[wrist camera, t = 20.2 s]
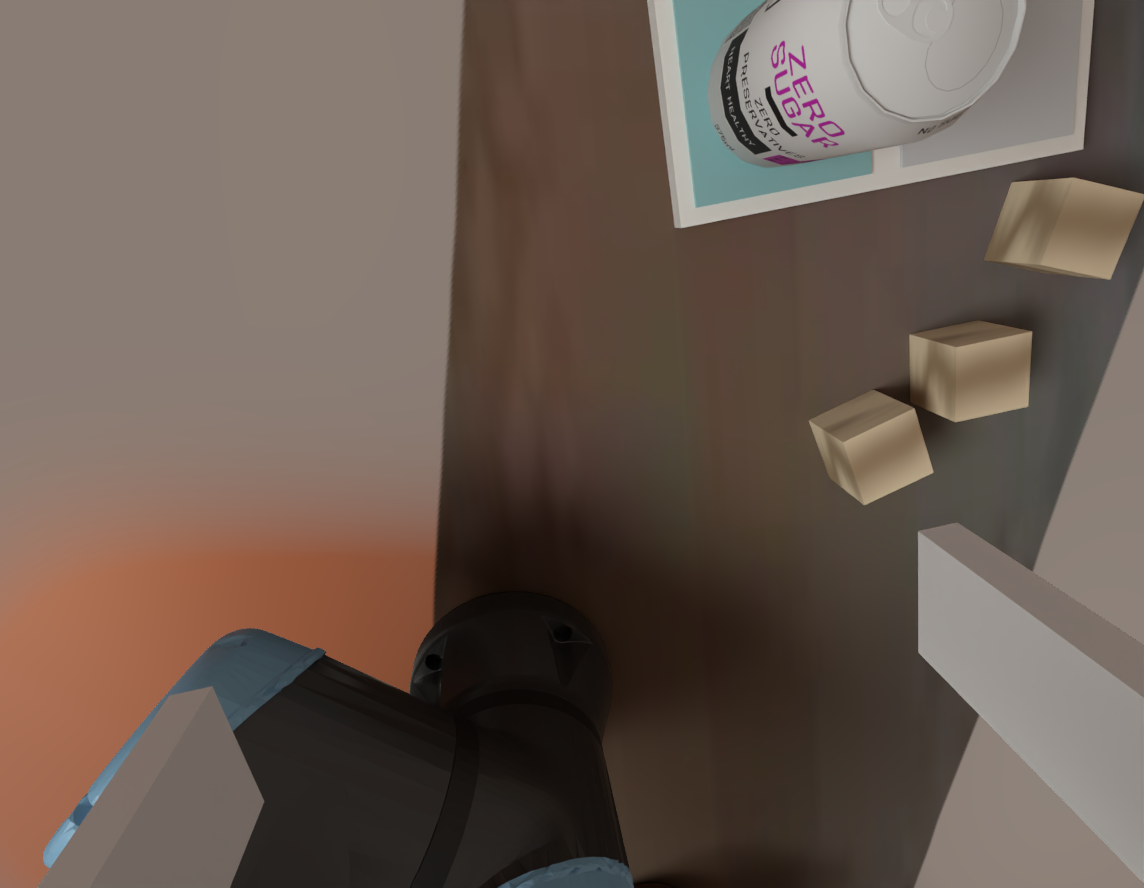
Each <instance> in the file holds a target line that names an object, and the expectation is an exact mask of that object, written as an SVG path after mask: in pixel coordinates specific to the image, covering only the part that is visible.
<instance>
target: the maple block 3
mask: <svg viewBox="0 0 1144 888" xmlns="http://www.w3.org/2000/svg"><path fill="white" fill-rule="evenodd" d="M1143 200H1144V194H1141V193H1136V192H1132V191H1128V190H1124V189H1120V188H1116V187H1111V186H1107V185H1103V184H1099V183H1095V182H1090V181H1086V180H1082V179H1078V178H1062V179H1049V180H1035V181H1022V182H1012V183H1011V186H1010V189H1009V192H1008V195H1007V197H1006V200H1005V203H1004V206H1003V208H1002V211H1001V214H1000V217H999V219H998V222H997V225H996V228H995V230H994V233H993V236H992V239H991V241H990V244H989V247H988V250H987V253H986V255H985V258H984V260H985V261H990V262H994V263H999V264H1004V265H1009V266H1013V267H1018V268H1023V269H1028V270H1032V271H1037V272H1042V273H1047V274H1057V275H1067V276H1078V277H1088V278H1099V279H1109V280H1110V279H1111V276H1112V274H1113V271H1114V269H1115V267H1116V264H1117V262H1118V260H1119V257H1120V255H1121V252H1122V250H1123V248H1124V245H1125V243H1126V241H1127V238H1128V236H1129V233H1130V231H1131V229H1132V226H1133V224H1134V222H1135V219H1136V217H1137V214H1138V212H1139V210H1140V207H1141V205H1142V202H1143Z"/></svg>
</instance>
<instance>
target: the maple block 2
mask: <svg viewBox="0 0 1144 888" xmlns="http://www.w3.org/2000/svg"><path fill="white" fill-rule="evenodd" d="M1031 345H1032V331H1028V330H1023V329H1018V328H1013V327H1009V326H1004V325H999V324H994V323H989V322H984V321H980V320H977V321H972V322H967V323H962V324H957V325H953V326H948V327H943V328H938V329H933V330H929V331H924V332H919V333H914V334H910V403H912V404H915V405H917V406H919V407H921V408H924V409H926V410H928V411H931V412H933V413H935V414H937V415H940V416H942V417H944V418H947V419H949V420H951V421H953V422H959V421H964V420H968V419H973V418H978V417H982V416H987V415H991V414H996V413H1001V412H1005V411H1010V410H1015V409H1019V408H1024V407H1028V399H1029V381H1030V363H1031Z"/></svg>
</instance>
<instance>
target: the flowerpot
mask: <svg viewBox="0 0 1144 888" xmlns="http://www.w3.org/2000/svg"><path fill="white" fill-rule="evenodd" d="M634 888H673V887H670V886H668V885H664V884H659V883H645V884H639V885H635V886H634Z"/></svg>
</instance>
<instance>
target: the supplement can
mask: <svg viewBox="0 0 1144 888" xmlns="http://www.w3.org/2000/svg"><path fill="white" fill-rule="evenodd" d="M1025 12H1026V0H766V1H765V2H763V3H762V4H761V5H760V6H758V7H757V8H756V9H755V10H754V11H752V12H751V13H750V14H749V15H747V16H746V17H745V18H744V19H742V20H741V22H740V23H739V24H738V25H737V26H736V27H735V28H734V29H733V30H732V31H731V32H730V33H729V34H728V36H727V37H726V38H725V39H724V40H723V41H722V43H721V46H720V48H719V50H718V52H717V54H716V56H715V59H714V61H713V63H712V65H711V68H710V75H709V83H708V90H707V100H708V105H709V111H710V117H711V122H712V125H713V126H714V128H715V130H716V132H717V134H718V135H719V137H720V139H721V141H722V143H723V144H724V146H725V147H726V148H728V149H729V150H730V151H731V152H732V153H734V154H735V155H736V156H737V157H738V158H740V159H741V160H742V161H744V162H747V163H750V164H754V165H757V166H760V167H763V168H771V167H782V166H791V165H796V164H801V163H807V162H812V161H818V160H823V159H828V158H834V157H839V156H845V155H850V154H855V153H861V152H866V151H872V150H877V149H882V148H888V147H893V146H899V145H904V144H910V143H915V142H920V141H922V140H924V139H926V138H928V137H930V136H932V135H934V134H936V133H938V132H940V131H942V130H944V129H946V128H948V127H950V126H952V125H953V124H954V123H955V122H956V121H957V120H958V119H959V118H960V117H961V116H962V115H963V114H964V113H966V112H967V111H968V110H969V109H970V108H971V107H972V106H973V105H974V104H975V103H976V102H977V101H978V100H979V99H980V98H981V96H982V95H983V94H984V93H985V92H986V91H987V90H988V89H989V88H990V87H991V86H992V85H993V84H994V83H995V82H996V81H997V80H998V78H999V77H1000V75H1001V73H1002V71H1003V70H1004V68H1005V66H1006V64H1007V63H1008V61H1009V59H1010V57H1011V56H1012V54H1013V52H1014V50H1015V49H1016V46H1017V43H1018V39H1019V35H1020V31H1021V27H1022V23H1023V19H1024V15H1025Z"/></svg>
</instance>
